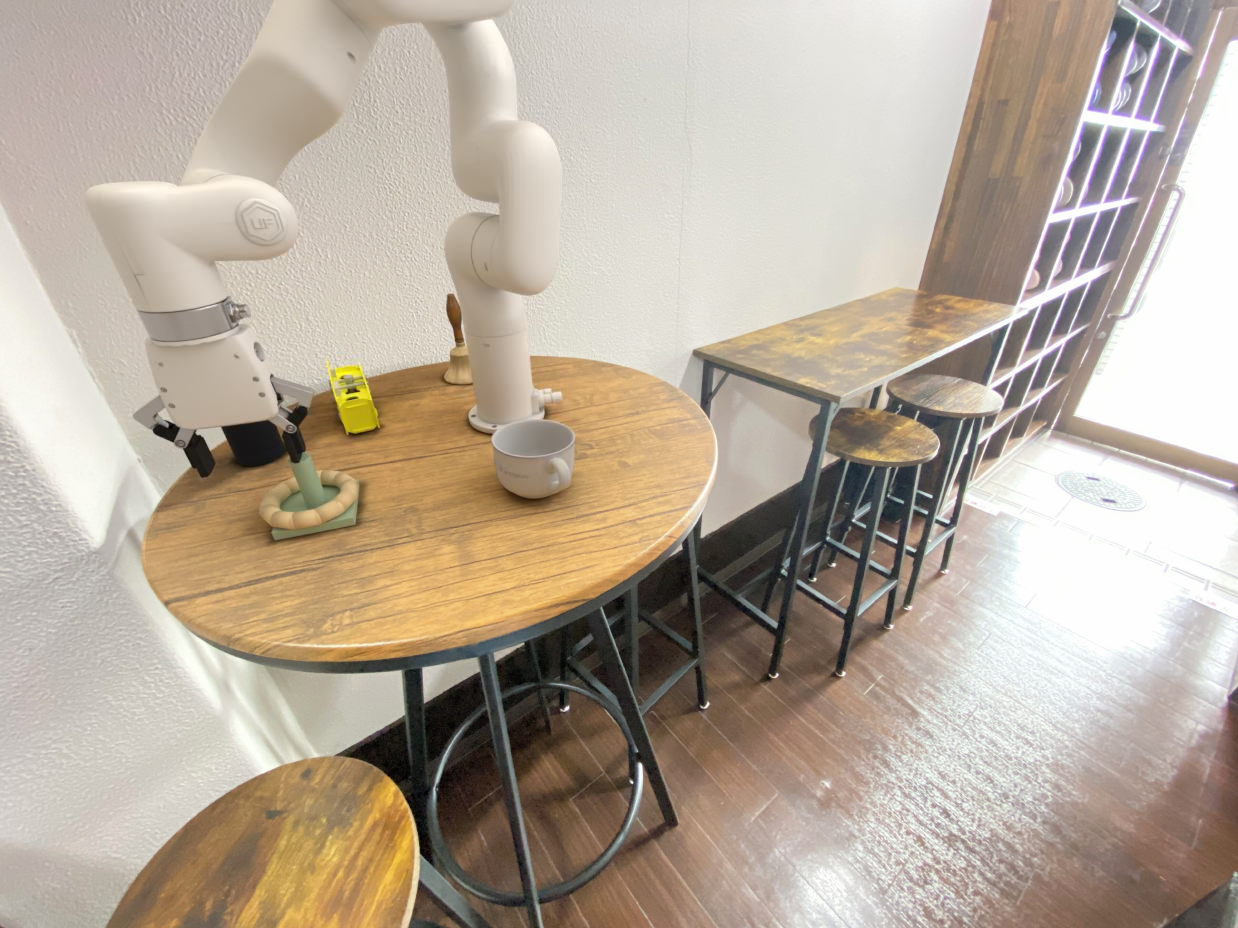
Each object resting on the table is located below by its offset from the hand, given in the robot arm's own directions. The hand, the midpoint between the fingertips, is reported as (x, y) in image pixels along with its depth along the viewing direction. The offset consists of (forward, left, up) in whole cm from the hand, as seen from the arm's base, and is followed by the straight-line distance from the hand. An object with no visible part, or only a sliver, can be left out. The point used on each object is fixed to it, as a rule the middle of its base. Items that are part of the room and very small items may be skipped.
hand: (254, 464), depth 63 cm
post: (-5, 0, -8) cm, 10 cm away
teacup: (-33, +5, -8) cm, 34 cm away
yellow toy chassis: (-8, -27, -8) cm, 29 cm away
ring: (-4, 0, -6) cm, 7 cm away
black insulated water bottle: (+5, -18, -8) cm, 21 cm away
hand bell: (-27, -38, -8) cm, 47 cm away
